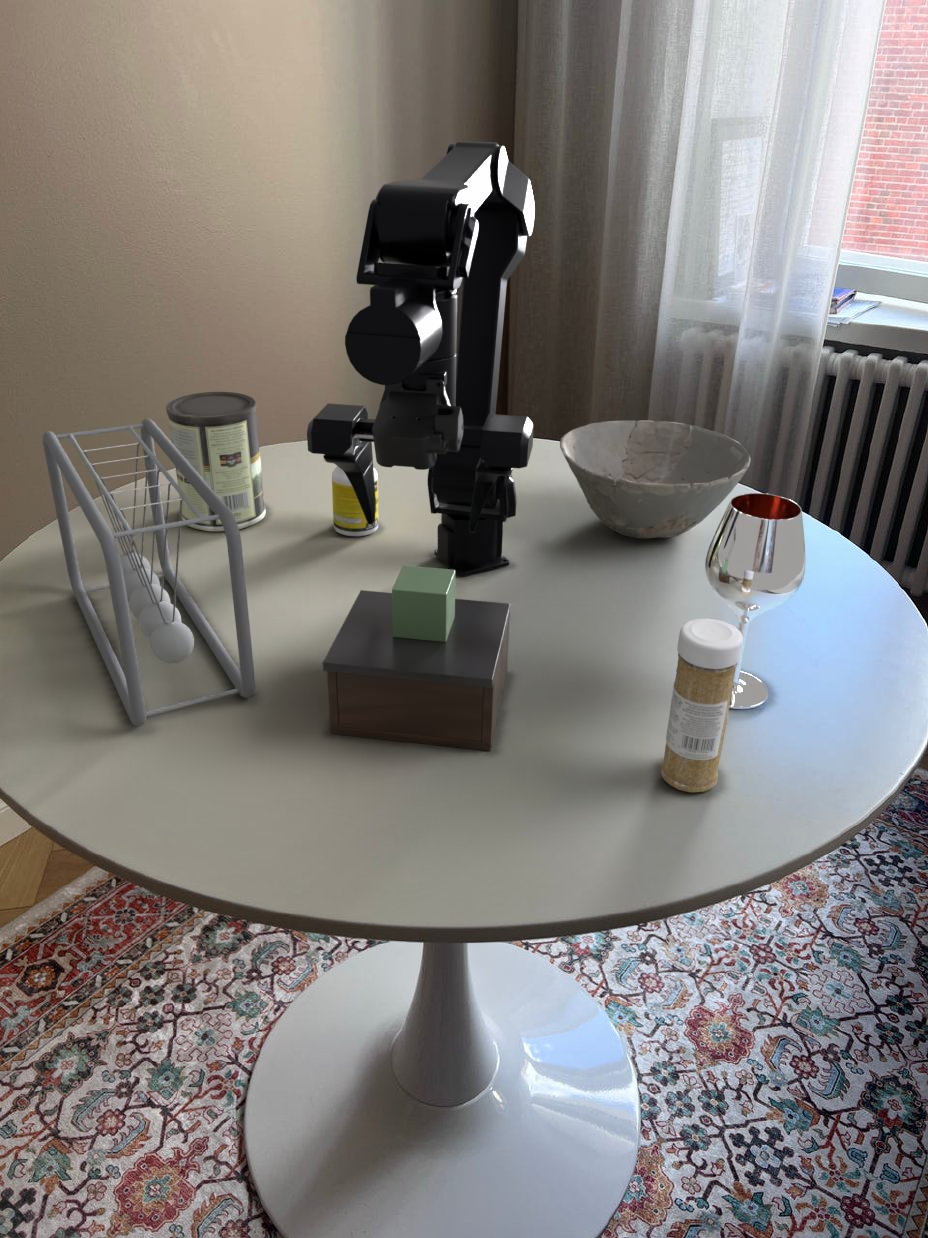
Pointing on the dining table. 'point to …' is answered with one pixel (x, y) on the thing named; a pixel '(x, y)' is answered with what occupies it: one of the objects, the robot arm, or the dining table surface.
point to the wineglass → (756, 569)
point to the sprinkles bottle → (700, 703)
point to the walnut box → (417, 708)
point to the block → (423, 603)
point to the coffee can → (219, 454)
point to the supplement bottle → (350, 507)
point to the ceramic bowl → (653, 473)
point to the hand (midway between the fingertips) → (421, 527)
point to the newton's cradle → (148, 569)
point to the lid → (420, 644)
